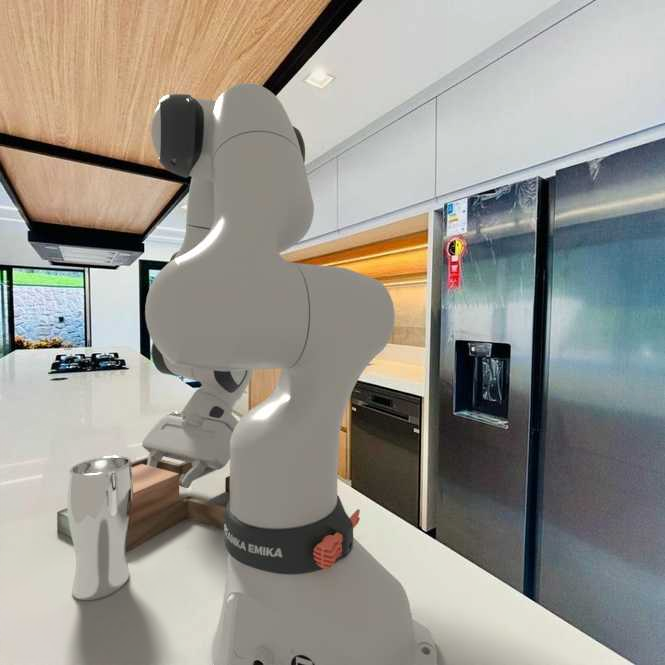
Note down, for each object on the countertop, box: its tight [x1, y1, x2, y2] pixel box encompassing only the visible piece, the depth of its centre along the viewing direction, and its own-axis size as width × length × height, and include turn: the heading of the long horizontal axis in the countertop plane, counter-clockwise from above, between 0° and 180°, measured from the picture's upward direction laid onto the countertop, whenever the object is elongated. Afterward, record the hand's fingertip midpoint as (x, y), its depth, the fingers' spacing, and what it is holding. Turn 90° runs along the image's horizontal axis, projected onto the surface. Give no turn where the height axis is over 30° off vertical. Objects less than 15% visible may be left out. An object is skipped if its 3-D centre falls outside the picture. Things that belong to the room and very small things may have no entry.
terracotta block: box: [129, 464, 180, 526], centre depth 62 cm, size 10×10×7 cm
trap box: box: [56, 456, 230, 553], centre depth 70 cm, size 35×33×3 cm
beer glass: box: [67, 455, 133, 601], centre depth 46 cm, size 7×7×15 cm
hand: (163, 481), depth 67 cm, fingers open, 8 cm apart
